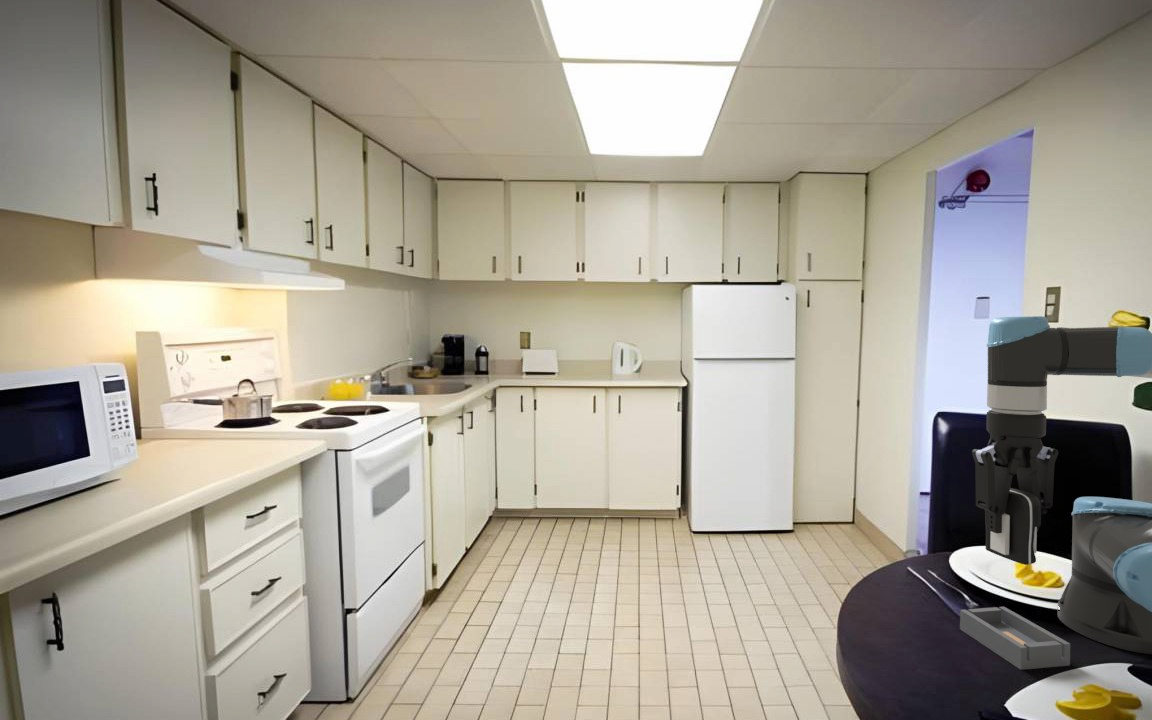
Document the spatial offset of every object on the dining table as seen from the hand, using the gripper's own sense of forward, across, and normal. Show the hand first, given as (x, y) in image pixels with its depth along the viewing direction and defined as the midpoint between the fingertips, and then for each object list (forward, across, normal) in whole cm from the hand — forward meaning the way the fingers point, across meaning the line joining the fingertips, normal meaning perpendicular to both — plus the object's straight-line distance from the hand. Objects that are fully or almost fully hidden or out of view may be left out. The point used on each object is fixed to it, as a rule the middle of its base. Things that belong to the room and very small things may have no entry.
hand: (1013, 550), depth 88 cm
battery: (+1, 0, 0) cm, 1 cm away
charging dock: (+16, 0, 0) cm, 16 cm away
